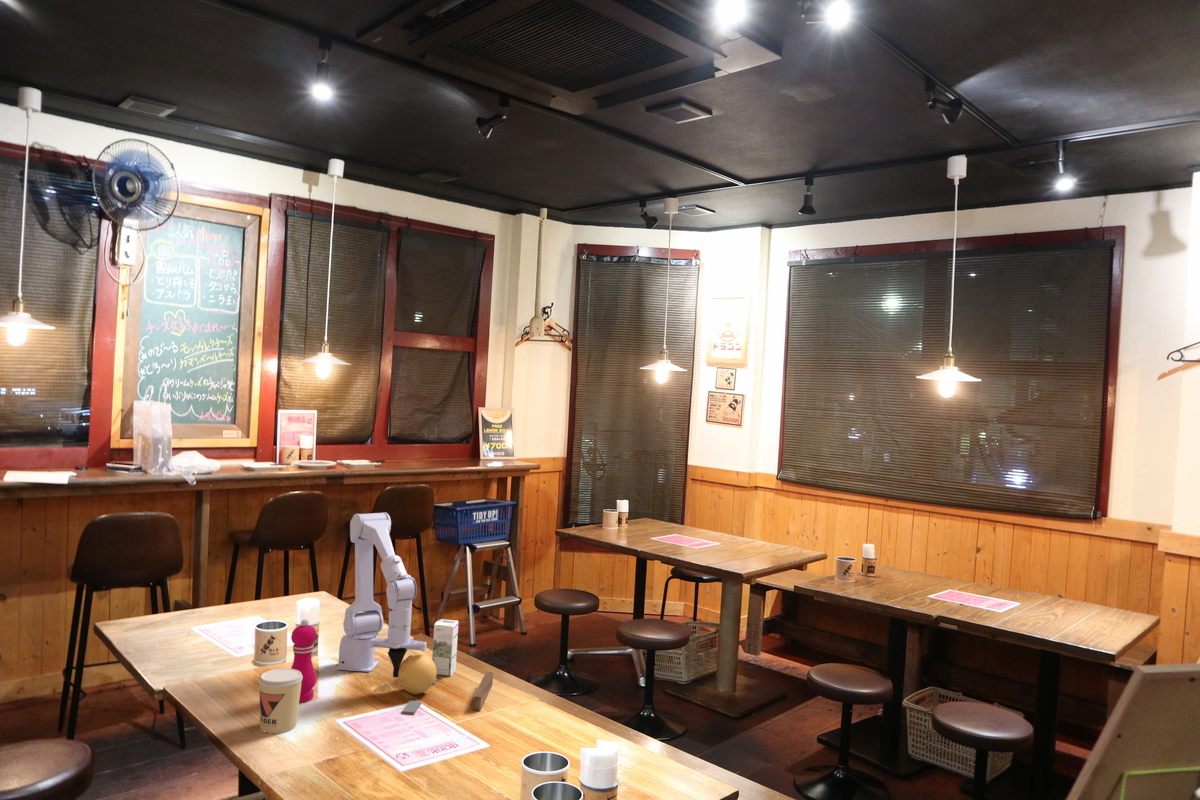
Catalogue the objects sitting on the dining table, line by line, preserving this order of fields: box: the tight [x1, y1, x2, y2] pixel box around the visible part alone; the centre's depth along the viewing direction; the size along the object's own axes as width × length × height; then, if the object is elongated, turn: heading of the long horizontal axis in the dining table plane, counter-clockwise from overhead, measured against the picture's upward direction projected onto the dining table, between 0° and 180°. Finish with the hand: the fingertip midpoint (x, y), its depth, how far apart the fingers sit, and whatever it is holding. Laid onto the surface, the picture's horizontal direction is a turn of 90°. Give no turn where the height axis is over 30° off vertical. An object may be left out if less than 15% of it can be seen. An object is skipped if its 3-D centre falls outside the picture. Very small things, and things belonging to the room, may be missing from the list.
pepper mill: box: [290, 619, 318, 703], centre depth 198 cm, size 7×7×20 cm
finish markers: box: [401, 677, 438, 715], centre depth 204 cm, size 3×24×1 cm, turn 178°
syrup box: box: [431, 618, 459, 677], centre depth 222 cm, size 6×6×14 cm
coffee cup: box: [258, 668, 303, 734], centre depth 181 cm, size 9×9×12 cm
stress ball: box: [397, 653, 437, 695], centre depth 206 cm, size 10×10×10 cm
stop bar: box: [471, 671, 494, 712], centre depth 205 cm, size 2×18×4 cm, turn 178°
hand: (396, 676), depth 206 cm, fingers closed
